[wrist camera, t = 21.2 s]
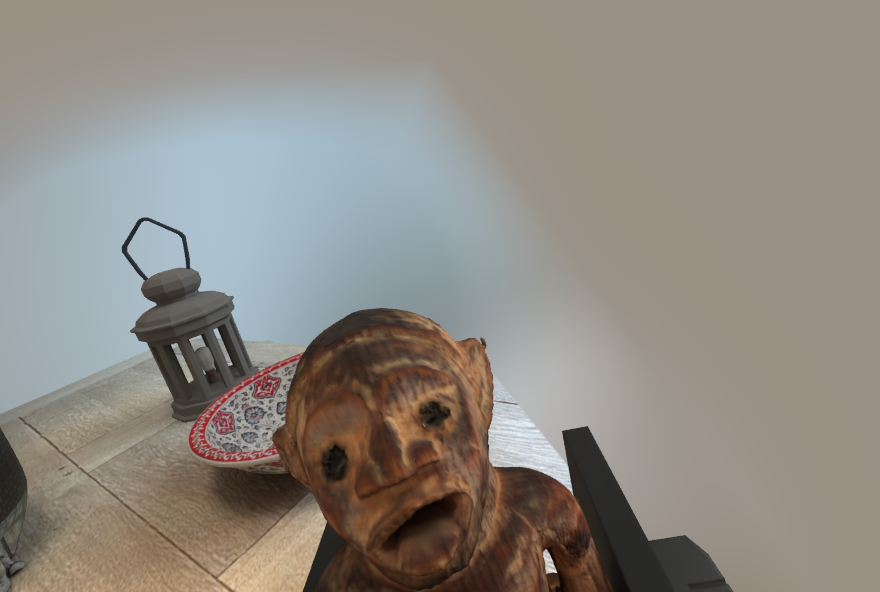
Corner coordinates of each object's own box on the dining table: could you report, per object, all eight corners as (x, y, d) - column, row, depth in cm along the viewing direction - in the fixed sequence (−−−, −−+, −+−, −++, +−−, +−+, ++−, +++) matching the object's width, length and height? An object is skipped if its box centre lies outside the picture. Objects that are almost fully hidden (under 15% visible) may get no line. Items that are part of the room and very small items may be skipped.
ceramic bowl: (394, 363, 75) (382, 323, 73) (462, 444, 49) (447, 385, 46) (224, 431, 66) (204, 387, 64) (195, 575, 40) (159, 509, 37)
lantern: (262, 365, 91) (199, 207, 81) (269, 393, 76) (192, 203, 66) (177, 398, 84) (98, 230, 74) (167, 434, 70) (66, 231, 60)
